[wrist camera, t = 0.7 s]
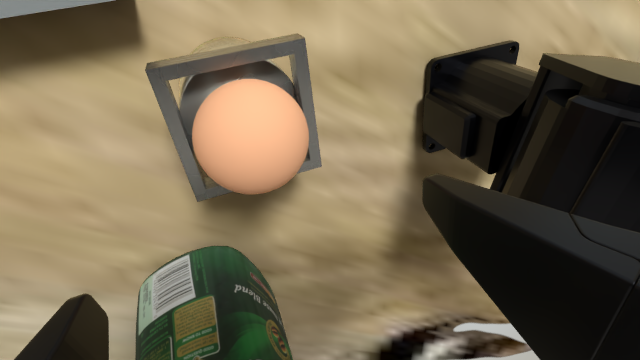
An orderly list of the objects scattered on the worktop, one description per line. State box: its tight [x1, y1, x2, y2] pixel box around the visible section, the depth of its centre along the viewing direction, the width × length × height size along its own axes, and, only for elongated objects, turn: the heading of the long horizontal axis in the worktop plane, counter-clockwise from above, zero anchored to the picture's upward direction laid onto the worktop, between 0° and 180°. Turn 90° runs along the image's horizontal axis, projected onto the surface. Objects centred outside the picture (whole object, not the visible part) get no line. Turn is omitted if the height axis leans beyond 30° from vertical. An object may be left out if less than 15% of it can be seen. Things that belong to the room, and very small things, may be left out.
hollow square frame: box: [145, 34, 322, 202], centre depth 17 cm, size 6×6×5 cm
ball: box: [192, 79, 309, 194], centre depth 14 cm, size 4×4×4 cm
